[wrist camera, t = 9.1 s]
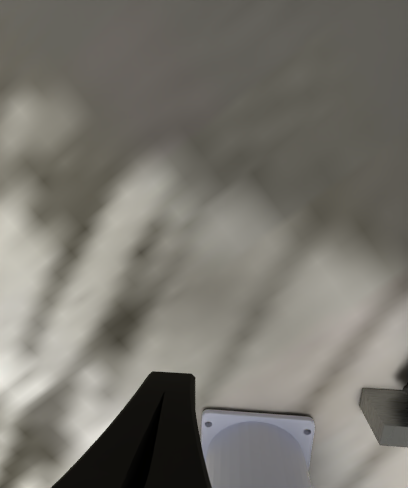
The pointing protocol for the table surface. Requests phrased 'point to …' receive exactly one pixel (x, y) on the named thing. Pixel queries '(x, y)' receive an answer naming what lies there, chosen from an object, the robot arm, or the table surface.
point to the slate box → (386, 415)
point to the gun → (406, 389)
